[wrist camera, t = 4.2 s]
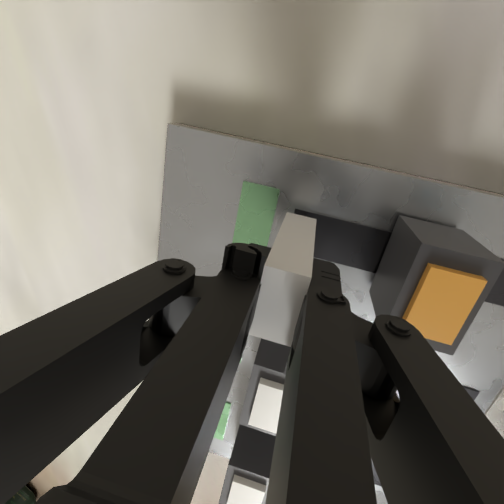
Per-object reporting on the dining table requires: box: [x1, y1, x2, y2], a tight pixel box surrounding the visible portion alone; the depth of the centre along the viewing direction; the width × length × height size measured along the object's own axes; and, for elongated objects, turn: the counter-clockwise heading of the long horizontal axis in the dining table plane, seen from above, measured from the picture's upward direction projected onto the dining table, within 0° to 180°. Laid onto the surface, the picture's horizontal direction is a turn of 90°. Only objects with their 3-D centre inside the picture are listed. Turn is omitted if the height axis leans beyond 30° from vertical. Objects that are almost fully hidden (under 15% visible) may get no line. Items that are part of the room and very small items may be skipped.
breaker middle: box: [239, 338, 293, 436], centre depth 18 cm, size 4×3×4 cm
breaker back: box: [219, 425, 276, 504], centre depth 21 cm, size 4×3×4 cm
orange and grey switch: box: [369, 215, 504, 356], centre depth 14 cm, size 4×3×4 cm
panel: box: [158, 123, 504, 504], centre depth 20 cm, size 24×28×2 cm
